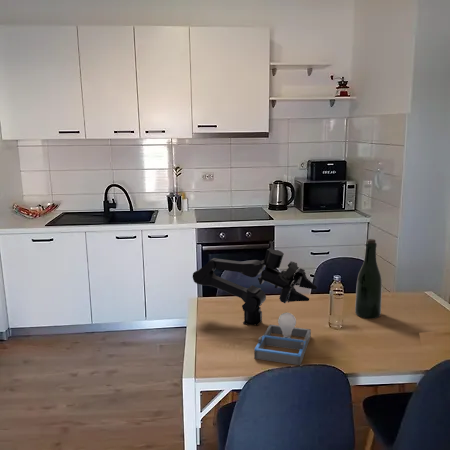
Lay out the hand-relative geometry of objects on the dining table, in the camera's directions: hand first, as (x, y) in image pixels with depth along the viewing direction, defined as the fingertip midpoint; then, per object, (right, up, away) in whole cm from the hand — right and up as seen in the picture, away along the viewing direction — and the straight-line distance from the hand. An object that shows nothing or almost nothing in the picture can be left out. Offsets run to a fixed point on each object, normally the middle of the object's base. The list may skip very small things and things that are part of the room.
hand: (312, 293), depth 175 cm
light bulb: (-11, -17, -3) cm, 21 cm away
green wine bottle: (+27, -12, +20) cm, 36 cm away
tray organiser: (-12, -18, -9) cm, 24 cm away
